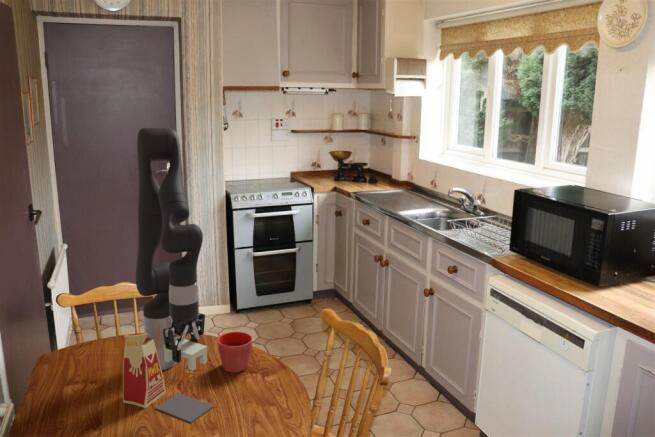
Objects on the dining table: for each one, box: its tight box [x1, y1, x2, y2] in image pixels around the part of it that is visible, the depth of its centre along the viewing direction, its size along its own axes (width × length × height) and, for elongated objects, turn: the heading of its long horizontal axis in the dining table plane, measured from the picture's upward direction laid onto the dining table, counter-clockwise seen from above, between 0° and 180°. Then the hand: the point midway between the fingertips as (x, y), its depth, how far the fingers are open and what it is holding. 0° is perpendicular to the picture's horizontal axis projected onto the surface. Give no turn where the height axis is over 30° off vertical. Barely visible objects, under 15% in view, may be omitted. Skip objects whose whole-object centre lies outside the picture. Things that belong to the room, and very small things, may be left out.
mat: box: [154, 392, 215, 424], centre depth 158 cm, size 13×9×1 cm
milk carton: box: [122, 333, 167, 409], centre depth 161 cm, size 9×9×20 cm
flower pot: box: [216, 331, 254, 373], centre depth 181 cm, size 11×11×10 cm
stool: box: [164, 336, 208, 372], centre depth 155 cm, size 5×6×10 cm
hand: (185, 356), depth 155 cm, fingers closed on stool, 6 cm apart
